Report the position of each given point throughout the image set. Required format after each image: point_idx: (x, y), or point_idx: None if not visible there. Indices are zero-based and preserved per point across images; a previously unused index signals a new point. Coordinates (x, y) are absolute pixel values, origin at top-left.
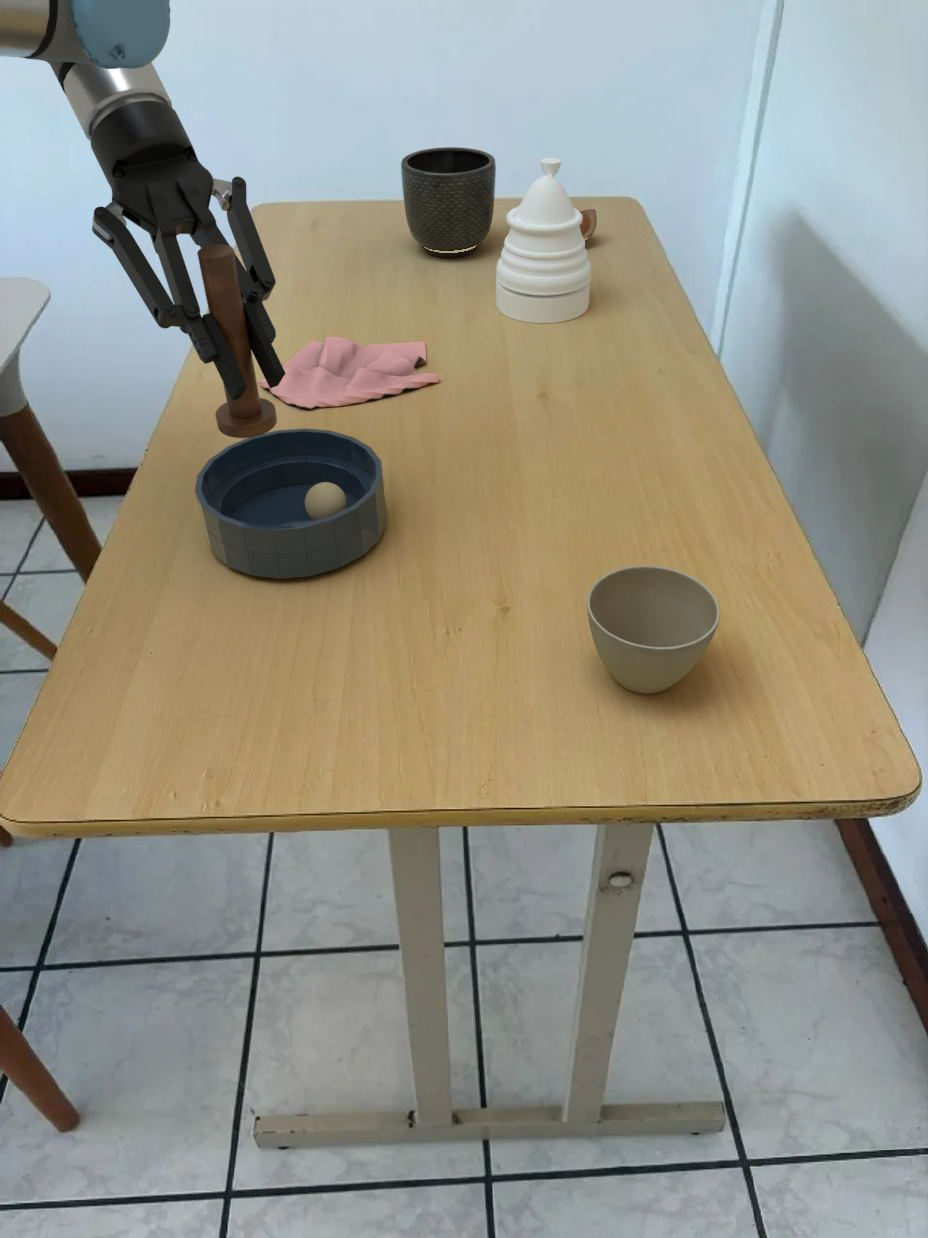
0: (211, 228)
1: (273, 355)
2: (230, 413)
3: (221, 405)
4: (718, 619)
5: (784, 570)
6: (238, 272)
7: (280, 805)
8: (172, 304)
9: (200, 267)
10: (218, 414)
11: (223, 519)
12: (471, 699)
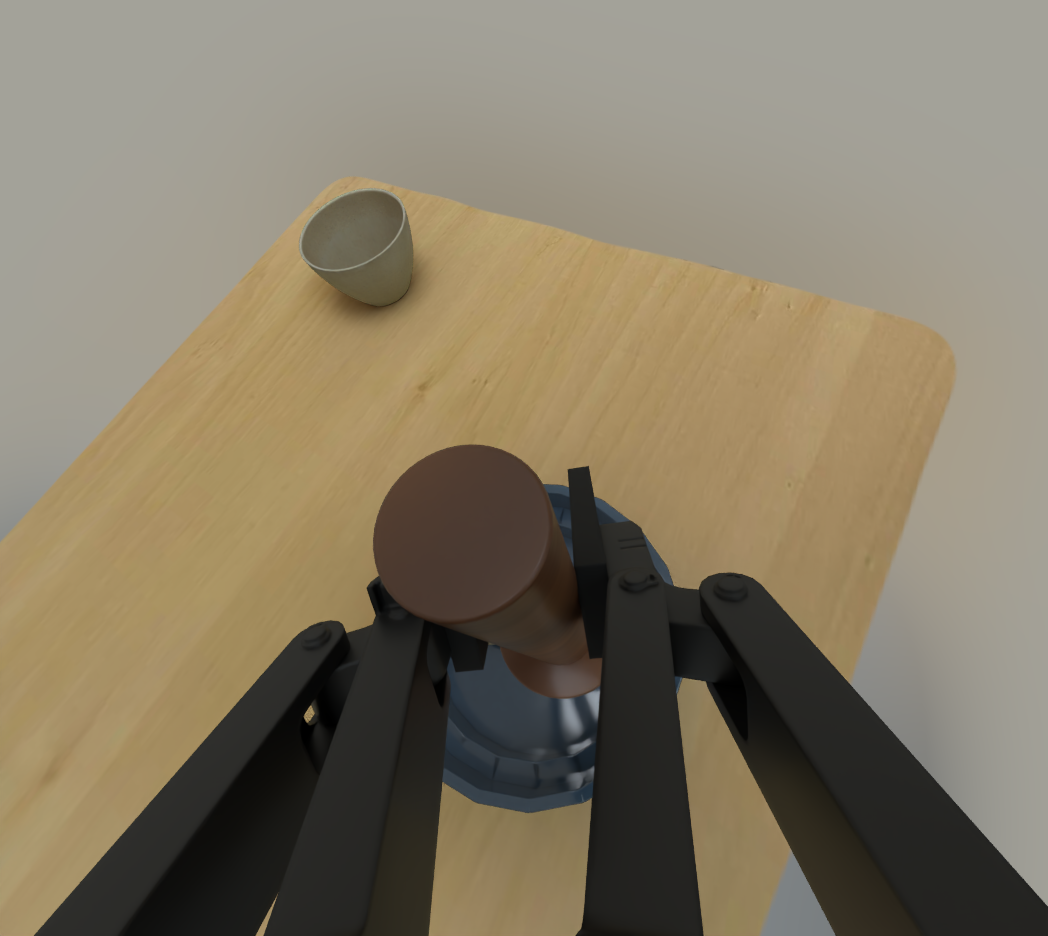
0: (310, 931)
1: None
2: None
3: (597, 684)
4: (328, 202)
5: (209, 336)
6: (388, 671)
7: (703, 271)
8: (709, 596)
9: (560, 547)
10: None
11: (659, 559)
12: (514, 309)
